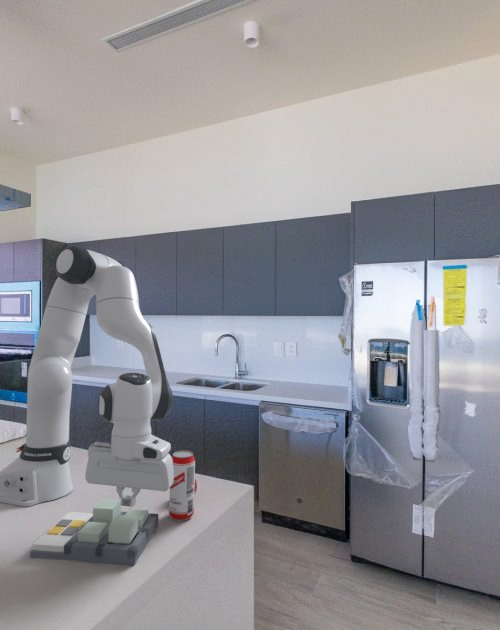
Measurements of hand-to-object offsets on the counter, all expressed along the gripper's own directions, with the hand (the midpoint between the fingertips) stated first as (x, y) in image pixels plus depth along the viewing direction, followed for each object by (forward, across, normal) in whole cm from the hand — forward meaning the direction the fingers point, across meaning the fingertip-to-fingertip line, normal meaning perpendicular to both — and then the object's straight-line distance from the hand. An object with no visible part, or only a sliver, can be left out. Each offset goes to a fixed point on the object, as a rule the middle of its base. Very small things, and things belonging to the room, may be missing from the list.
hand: (128, 505), depth 90 cm
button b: (+4, -6, +1) cm, 7 cm away
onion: (+7, +8, +21) cm, 23 cm away
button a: (+6, -5, -5) cm, 10 cm away
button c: (+4, +2, -5) cm, 7 cm away
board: (+8, -6, -2) cm, 10 cm away
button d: (+6, +1, +2) cm, 7 cm away
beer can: (+7, +9, +12) cm, 17 cm away
